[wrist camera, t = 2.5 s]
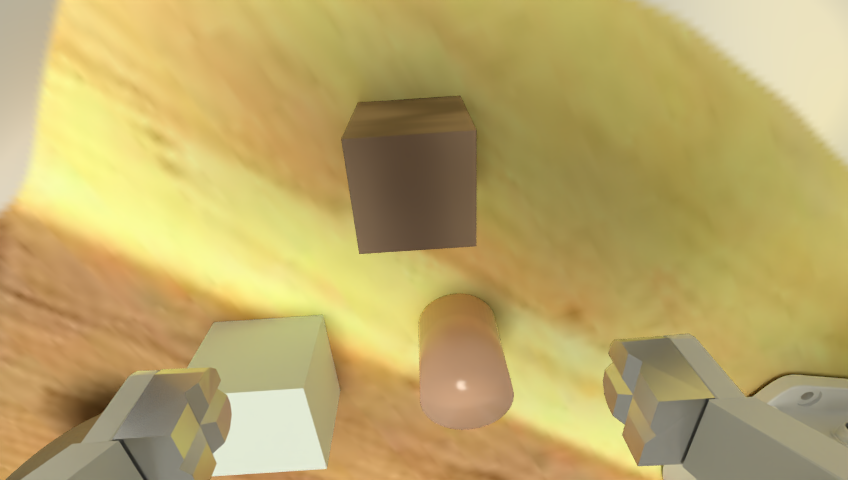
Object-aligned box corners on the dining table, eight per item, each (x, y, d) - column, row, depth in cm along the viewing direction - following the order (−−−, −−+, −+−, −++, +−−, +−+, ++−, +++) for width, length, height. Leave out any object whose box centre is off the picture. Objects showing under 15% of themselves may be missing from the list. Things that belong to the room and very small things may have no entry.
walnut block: (460, 95, 21) (476, 130, 16) (461, 189, 24) (476, 246, 19) (358, 102, 21) (341, 139, 16) (370, 195, 24) (359, 253, 19)
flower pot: (225, 462, 35) (186, 564, 29) (103, 471, 35) (37, 574, 29) (181, 374, 30) (122, 475, 24) (39, 385, 30) (-57, 488, 24)
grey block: (323, 313, 28) (303, 388, 23) (340, 389, 31) (326, 468, 26) (214, 321, 28) (169, 397, 23) (244, 395, 31) (211, 476, 26)
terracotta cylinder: (495, 291, 27) (515, 362, 22) (494, 350, 30) (511, 426, 25) (415, 296, 27) (417, 368, 22) (421, 354, 30) (423, 432, 25)
